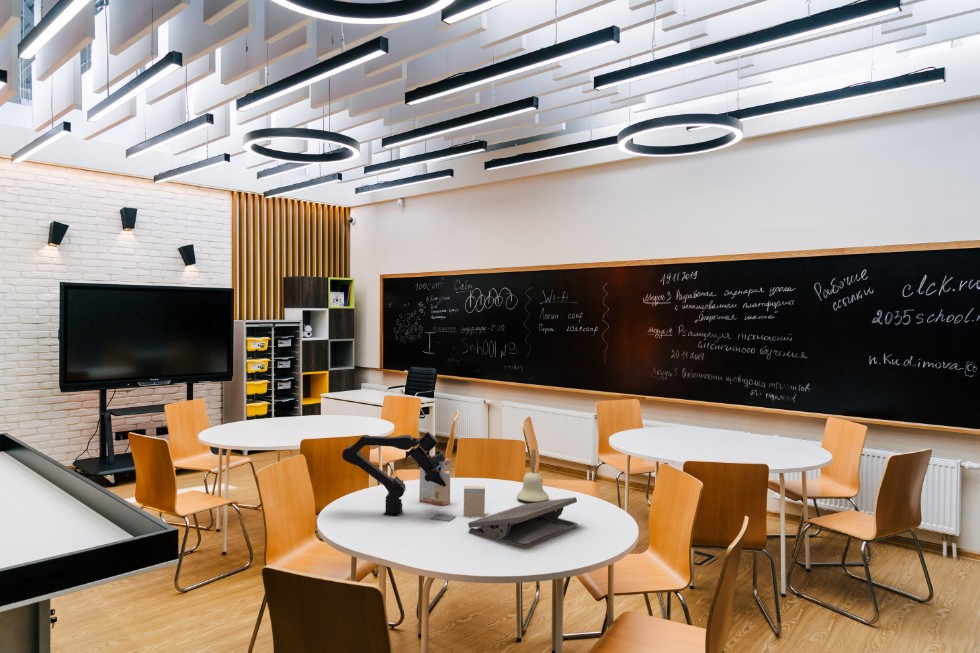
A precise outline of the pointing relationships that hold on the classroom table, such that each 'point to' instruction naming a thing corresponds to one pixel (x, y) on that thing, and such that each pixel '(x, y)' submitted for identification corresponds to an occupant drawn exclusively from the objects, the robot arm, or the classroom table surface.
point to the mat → (443, 517)
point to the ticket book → (474, 500)
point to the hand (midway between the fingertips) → (445, 484)
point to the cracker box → (433, 486)
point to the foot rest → (523, 513)
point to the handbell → (532, 484)
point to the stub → (444, 490)
